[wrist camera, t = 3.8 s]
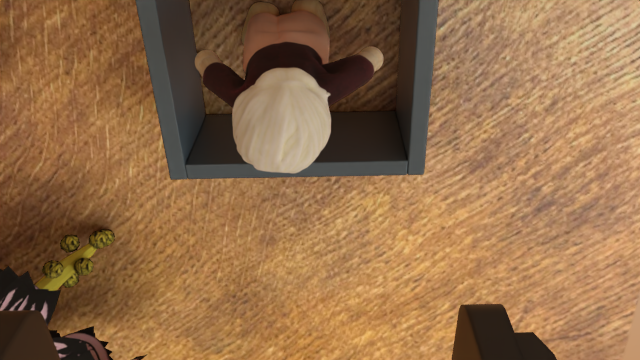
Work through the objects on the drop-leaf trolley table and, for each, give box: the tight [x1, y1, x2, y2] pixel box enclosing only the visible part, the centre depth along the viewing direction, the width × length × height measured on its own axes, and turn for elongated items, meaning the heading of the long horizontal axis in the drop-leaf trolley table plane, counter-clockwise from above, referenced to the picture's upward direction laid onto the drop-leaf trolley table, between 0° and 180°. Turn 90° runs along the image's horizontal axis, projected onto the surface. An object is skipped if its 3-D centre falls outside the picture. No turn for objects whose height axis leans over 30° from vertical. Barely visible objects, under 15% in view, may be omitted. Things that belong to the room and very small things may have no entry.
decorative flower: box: [0, 229, 146, 360], centre depth 32 cm, size 14×12×15 cm
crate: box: [135, 0, 439, 179], centre depth 26 cm, size 12×11×6 cm
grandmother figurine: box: [195, 0, 384, 174], centre depth 23 cm, size 8×4×13 cm, turn 104°
